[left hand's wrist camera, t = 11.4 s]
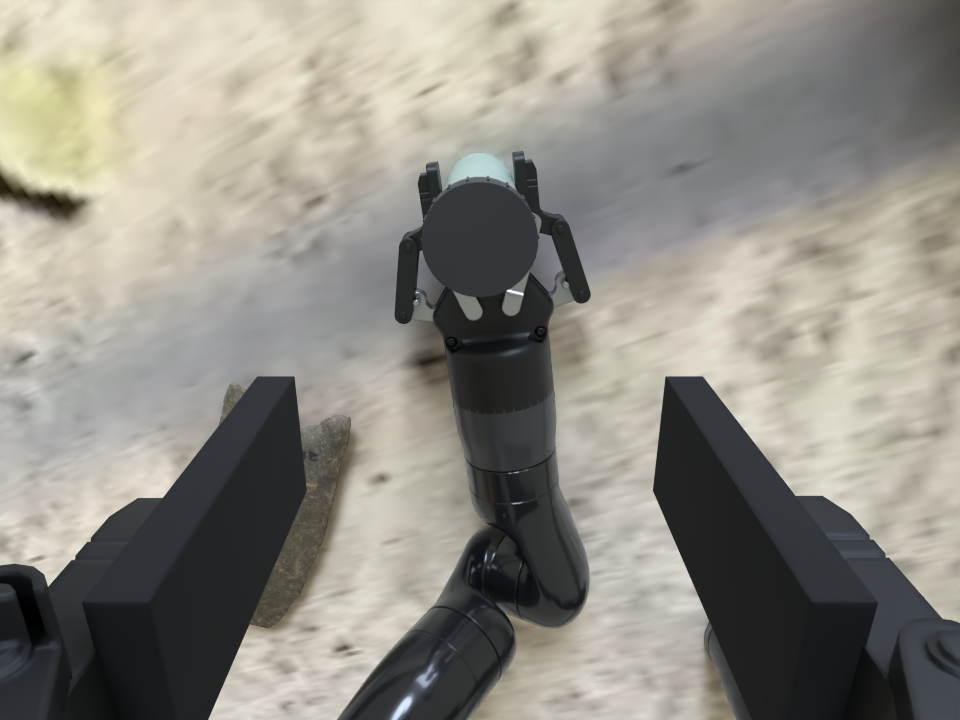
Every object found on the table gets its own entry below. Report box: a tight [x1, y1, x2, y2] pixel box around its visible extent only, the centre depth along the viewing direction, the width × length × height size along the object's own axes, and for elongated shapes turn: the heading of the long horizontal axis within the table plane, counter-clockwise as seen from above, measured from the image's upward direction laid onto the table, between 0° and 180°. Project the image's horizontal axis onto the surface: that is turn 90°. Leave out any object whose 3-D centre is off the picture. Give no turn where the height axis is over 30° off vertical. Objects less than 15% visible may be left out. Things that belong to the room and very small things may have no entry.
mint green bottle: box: [443, 153, 517, 191], centre depth 42 cm, size 5×5×19 cm
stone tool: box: [219, 382, 351, 628], centre depth 60 cm, size 11×3×25 cm
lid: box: [421, 176, 539, 297], centre depth 33 cm, size 6×6×2 cm
